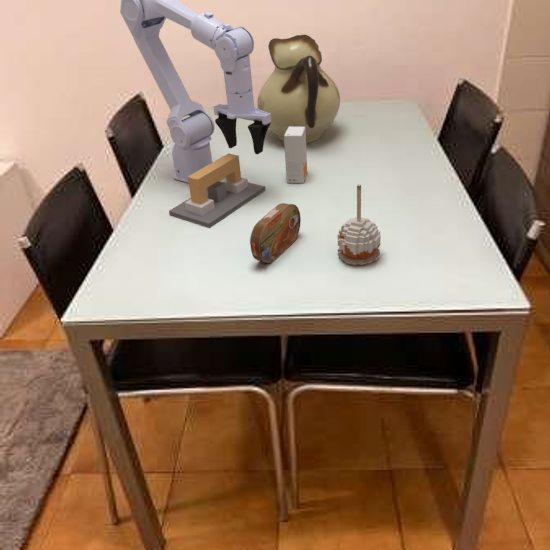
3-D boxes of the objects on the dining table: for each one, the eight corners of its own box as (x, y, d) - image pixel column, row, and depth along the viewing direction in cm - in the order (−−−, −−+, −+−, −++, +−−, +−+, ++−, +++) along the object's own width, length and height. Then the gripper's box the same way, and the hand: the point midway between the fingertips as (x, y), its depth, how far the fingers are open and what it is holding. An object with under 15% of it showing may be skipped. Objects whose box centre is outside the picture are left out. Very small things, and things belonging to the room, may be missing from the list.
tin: (263, 271, 113) (259, 232, 108) (249, 267, 114) (245, 229, 109) (303, 234, 123) (300, 197, 118) (289, 231, 124) (287, 194, 120)
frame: (191, 201, 132) (187, 176, 129) (231, 177, 141) (228, 153, 138) (201, 204, 130) (197, 179, 127) (241, 179, 139) (238, 155, 136)
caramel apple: (348, 242, 119) (348, 173, 110) (385, 250, 115) (387, 179, 107) (331, 261, 114) (329, 190, 105) (369, 271, 110) (370, 198, 102)
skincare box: (304, 183, 142) (301, 135, 135) (286, 183, 143) (283, 135, 136) (308, 172, 147) (305, 126, 140) (290, 172, 148) (287, 126, 141)
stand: (169, 214, 134) (166, 196, 131) (226, 180, 147) (224, 163, 144) (209, 227, 128) (206, 209, 125) (265, 190, 141) (263, 172, 138)
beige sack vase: (290, 116, 180) (284, 29, 166) (359, 129, 168) (359, 36, 154) (244, 143, 166) (234, 50, 152) (316, 159, 154) (312, 60, 139)
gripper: (201, 91, 129) (210, 150, 136) (254, 99, 121) (260, 162, 129) (222, 81, 133) (229, 139, 141) (274, 89, 125) (279, 150, 133)
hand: (245, 149), depth 135 cm, fingers open, 7 cm apart
